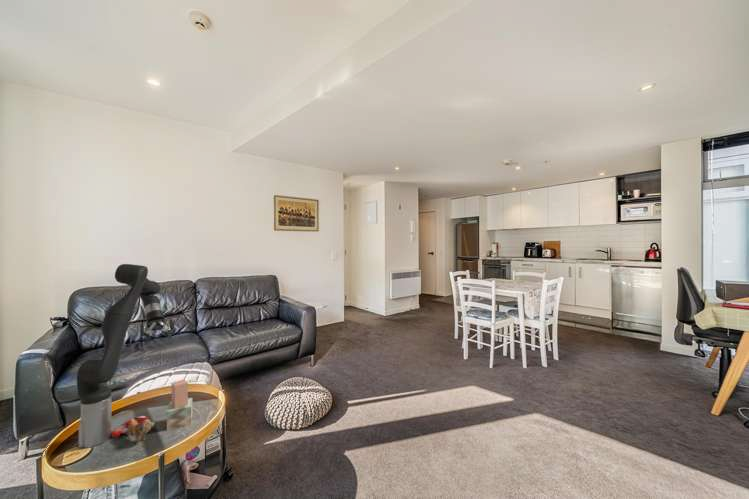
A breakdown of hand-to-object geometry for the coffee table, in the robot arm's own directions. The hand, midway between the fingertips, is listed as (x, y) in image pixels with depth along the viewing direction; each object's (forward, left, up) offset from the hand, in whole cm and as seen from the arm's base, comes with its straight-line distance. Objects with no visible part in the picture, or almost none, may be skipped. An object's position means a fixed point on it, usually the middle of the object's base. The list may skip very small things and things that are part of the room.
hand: (160, 339), depth 150 cm
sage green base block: (+11, -24, -33) cm, 42 cm away
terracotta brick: (+10, -24, -25) cm, 36 cm away
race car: (-8, -20, -33) cm, 40 cm away
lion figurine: (-3, -30, -33) cm, 44 cm away
